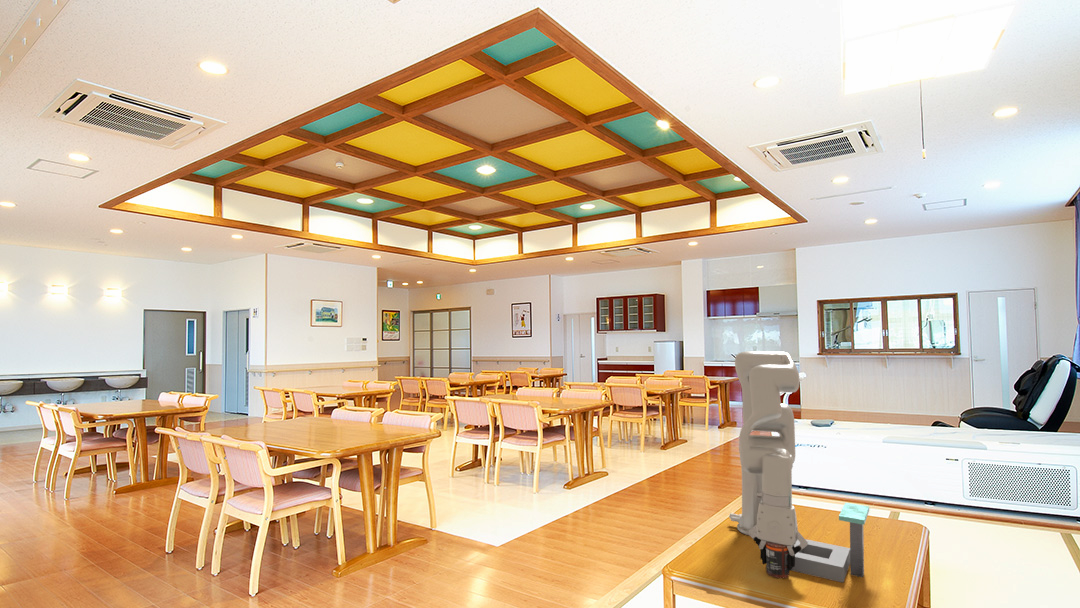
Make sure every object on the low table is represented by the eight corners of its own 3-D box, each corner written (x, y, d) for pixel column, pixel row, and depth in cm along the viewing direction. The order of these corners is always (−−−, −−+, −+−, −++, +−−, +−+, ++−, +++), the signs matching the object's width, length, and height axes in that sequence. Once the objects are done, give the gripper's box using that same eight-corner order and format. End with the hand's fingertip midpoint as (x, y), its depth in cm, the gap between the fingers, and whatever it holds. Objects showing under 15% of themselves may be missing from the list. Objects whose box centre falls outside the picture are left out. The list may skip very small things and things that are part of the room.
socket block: (779, 567, 161) (779, 553, 162) (791, 549, 175) (791, 536, 175) (843, 582, 152) (843, 567, 152) (850, 562, 166) (850, 548, 166)
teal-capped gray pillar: (839, 580, 154) (838, 515, 154) (846, 562, 165) (845, 502, 166) (865, 586, 150) (864, 520, 151) (869, 567, 162) (869, 506, 162)
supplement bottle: (788, 571, 159) (788, 530, 159) (790, 580, 153) (790, 538, 154) (765, 568, 161) (765, 528, 161) (766, 577, 155) (766, 535, 156)
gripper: (741, 497, 160) (741, 562, 159) (808, 509, 150) (809, 578, 149) (748, 490, 166) (748, 553, 165) (813, 501, 156) (814, 568, 155)
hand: (777, 565), depth 157 cm, fingers closed on supplement bottle, 6 cm apart
